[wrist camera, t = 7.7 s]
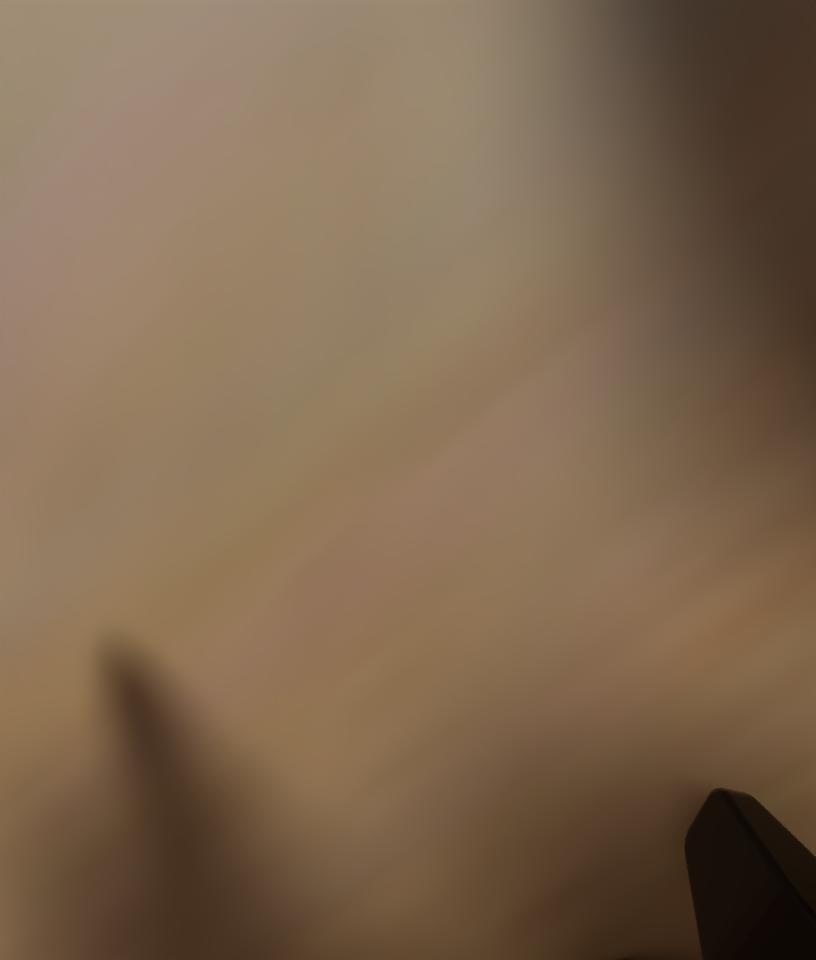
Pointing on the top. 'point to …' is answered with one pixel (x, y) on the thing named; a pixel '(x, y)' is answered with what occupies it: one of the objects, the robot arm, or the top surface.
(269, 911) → the top surface
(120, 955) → the top surface
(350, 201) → the top surface
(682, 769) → the top surface
